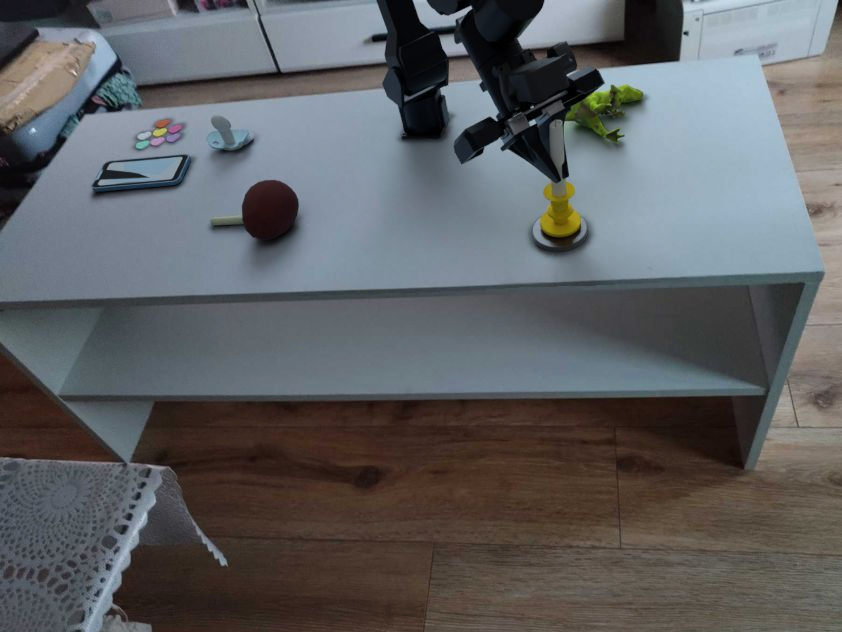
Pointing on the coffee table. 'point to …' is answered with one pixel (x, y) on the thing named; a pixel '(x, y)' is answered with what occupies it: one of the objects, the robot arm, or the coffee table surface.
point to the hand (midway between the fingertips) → (562, 180)
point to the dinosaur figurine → (603, 109)
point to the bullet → (226, 220)
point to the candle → (559, 192)
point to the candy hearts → (159, 133)
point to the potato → (269, 209)
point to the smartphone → (141, 172)
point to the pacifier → (227, 135)
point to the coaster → (559, 238)
